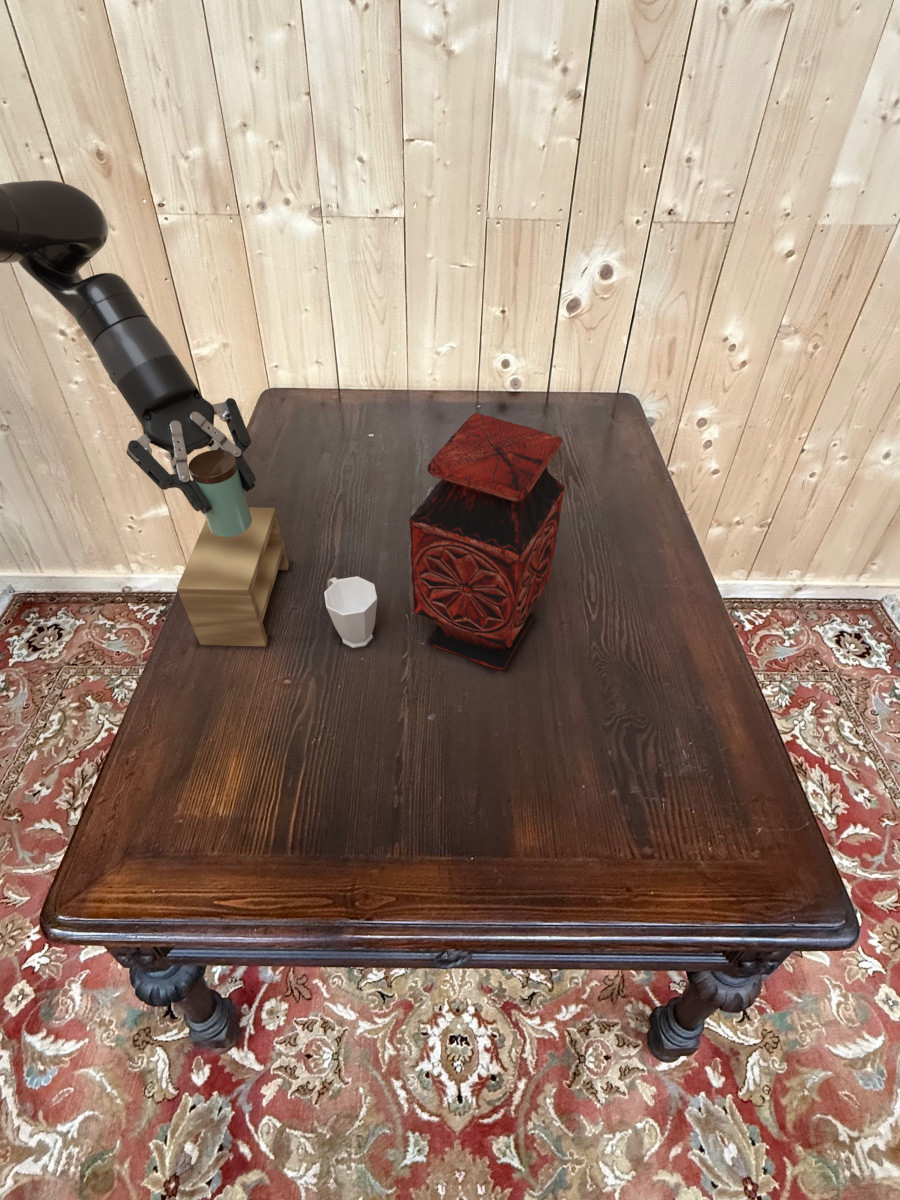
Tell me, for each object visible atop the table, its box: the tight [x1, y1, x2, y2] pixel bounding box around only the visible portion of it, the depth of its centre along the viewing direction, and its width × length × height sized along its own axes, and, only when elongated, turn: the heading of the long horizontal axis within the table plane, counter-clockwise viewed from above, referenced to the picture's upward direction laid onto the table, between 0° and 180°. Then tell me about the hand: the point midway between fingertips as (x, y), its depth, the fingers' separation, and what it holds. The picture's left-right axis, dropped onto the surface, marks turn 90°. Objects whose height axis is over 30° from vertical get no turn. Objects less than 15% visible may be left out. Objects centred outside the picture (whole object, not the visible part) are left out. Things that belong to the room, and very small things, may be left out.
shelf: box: [176, 506, 290, 647], centre depth 95 cm, size 16×9×11 cm, turn 178°
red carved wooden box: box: [408, 412, 565, 671], centre depth 84 cm, size 14×14×30 cm
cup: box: [323, 575, 378, 649], centre depth 92 cm, size 7×10×8 cm
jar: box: [188, 449, 252, 537], centre depth 82 cm, size 5×5×9 cm
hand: (229, 499), depth 81 cm, fingers closed on jar, 5 cm apart
